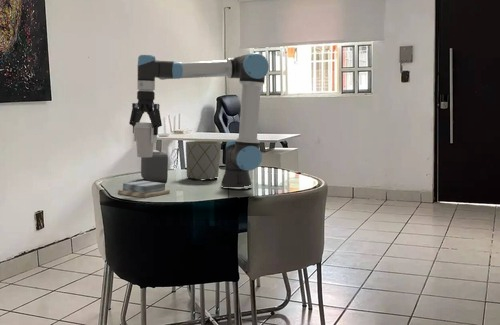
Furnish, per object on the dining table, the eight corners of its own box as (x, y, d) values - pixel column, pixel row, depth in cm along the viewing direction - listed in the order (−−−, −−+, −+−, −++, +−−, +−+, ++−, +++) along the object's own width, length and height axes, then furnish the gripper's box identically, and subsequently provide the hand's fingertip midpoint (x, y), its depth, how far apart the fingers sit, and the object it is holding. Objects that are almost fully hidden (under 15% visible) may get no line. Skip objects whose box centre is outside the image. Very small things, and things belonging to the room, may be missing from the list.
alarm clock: (167, 182, 290) (168, 152, 288) (145, 182, 286) (145, 152, 284) (161, 178, 305) (161, 149, 304) (140, 178, 301) (140, 149, 300)
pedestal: (169, 193, 256) (169, 183, 255) (145, 197, 242) (145, 187, 241) (142, 189, 264) (142, 180, 263) (118, 193, 250) (118, 183, 250)
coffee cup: (136, 157, 245) (136, 123, 243) (131, 155, 254) (132, 122, 252) (158, 157, 249) (158, 123, 247) (152, 155, 257) (153, 122, 256)
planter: (177, 178, 308) (178, 141, 306) (202, 175, 322) (203, 140, 320) (202, 182, 295) (203, 144, 293) (227, 179, 310) (228, 143, 308)
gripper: (121, 90, 251) (120, 140, 253) (159, 91, 239) (158, 143, 242) (133, 90, 257) (132, 140, 259) (171, 91, 246) (170, 143, 248)
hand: (145, 141), depth 251 cm, fingers closed on coffee cup, 9 cm apart
